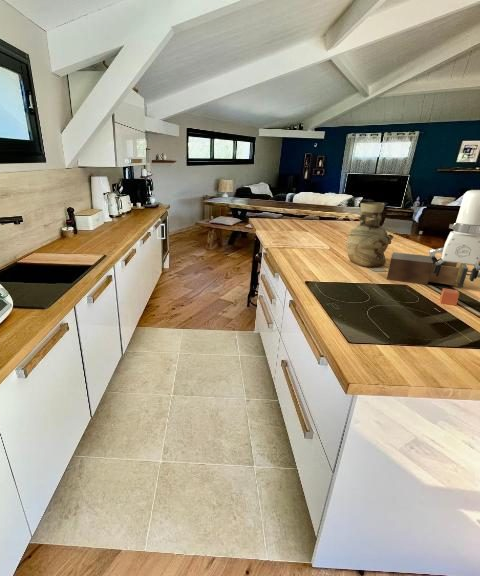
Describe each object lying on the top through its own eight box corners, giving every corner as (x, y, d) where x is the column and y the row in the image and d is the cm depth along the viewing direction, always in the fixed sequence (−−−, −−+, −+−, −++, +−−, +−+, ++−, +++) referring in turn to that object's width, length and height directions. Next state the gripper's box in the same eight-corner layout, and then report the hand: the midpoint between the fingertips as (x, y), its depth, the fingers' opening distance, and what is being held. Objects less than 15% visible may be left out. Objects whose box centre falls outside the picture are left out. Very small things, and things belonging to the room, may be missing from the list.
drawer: (474, 281, 130) (480, 263, 127) (478, 290, 121) (484, 270, 118) (420, 274, 140) (425, 257, 137) (421, 281, 131) (425, 264, 128)
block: (454, 301, 113) (458, 290, 112) (456, 305, 110) (459, 294, 108) (439, 299, 116) (442, 288, 114) (440, 303, 112) (443, 291, 111)
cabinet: (426, 277, 139) (432, 256, 136) (427, 285, 130) (433, 263, 126) (388, 272, 147) (392, 252, 144) (386, 279, 137) (391, 258, 134)
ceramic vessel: (395, 269, 151) (409, 205, 140) (348, 267, 155) (358, 205, 145) (382, 259, 168) (394, 201, 158) (340, 257, 173) (348, 201, 162)
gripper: (436, 228, 105) (423, 276, 111) (506, 233, 96) (487, 285, 102) (435, 225, 111) (423, 270, 117) (501, 230, 102) (484, 279, 108)
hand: (453, 277), depth 110 cm, fingers open, 9 cm apart
